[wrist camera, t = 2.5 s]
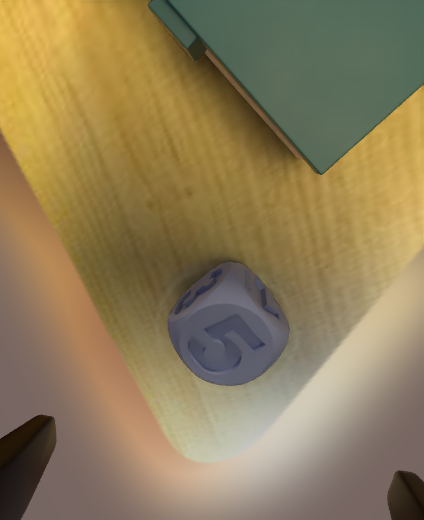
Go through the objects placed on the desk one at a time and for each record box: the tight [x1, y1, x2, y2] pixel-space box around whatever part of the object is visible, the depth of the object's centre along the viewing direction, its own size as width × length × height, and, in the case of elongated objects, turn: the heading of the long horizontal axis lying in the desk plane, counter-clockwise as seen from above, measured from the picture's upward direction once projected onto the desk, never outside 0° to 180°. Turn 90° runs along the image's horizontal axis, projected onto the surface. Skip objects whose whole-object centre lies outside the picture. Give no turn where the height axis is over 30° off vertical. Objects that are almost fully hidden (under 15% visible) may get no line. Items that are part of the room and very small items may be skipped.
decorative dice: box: [168, 262, 289, 386], centre depth 16 cm, size 4×4×4 cm
